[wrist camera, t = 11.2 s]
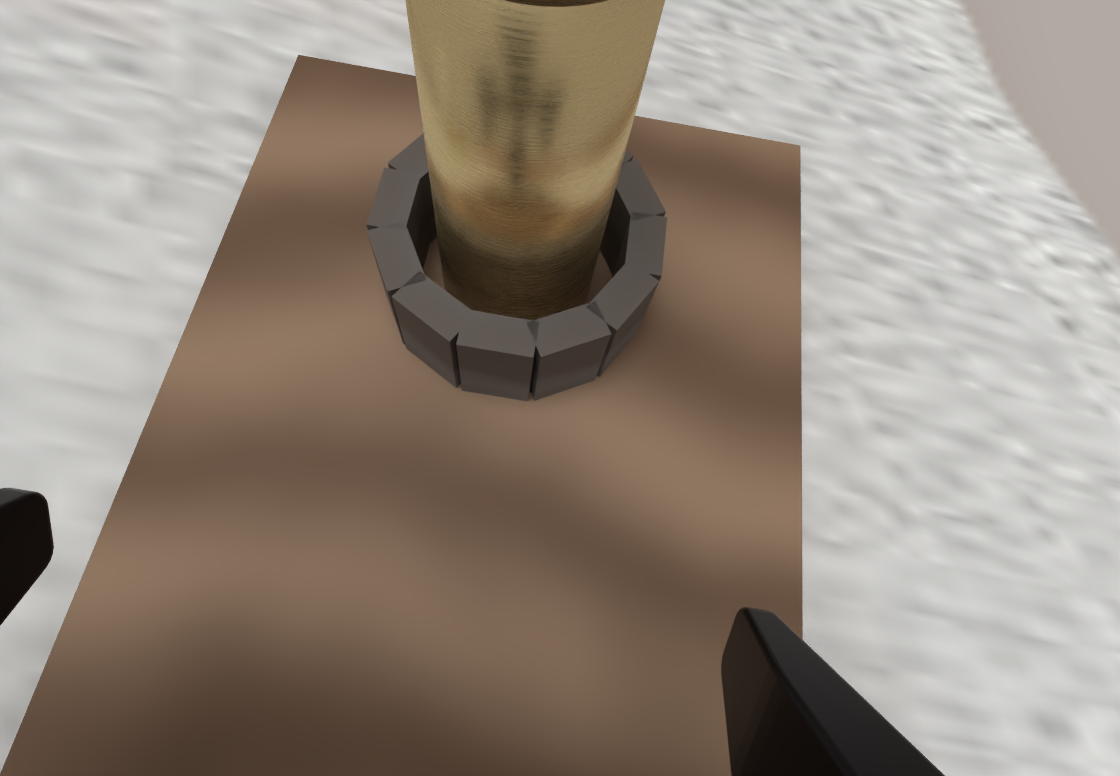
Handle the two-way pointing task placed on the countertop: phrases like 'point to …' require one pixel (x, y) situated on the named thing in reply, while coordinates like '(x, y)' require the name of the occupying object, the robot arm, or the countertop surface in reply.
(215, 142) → the countertop surface
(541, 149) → the brass fitting
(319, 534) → the board
